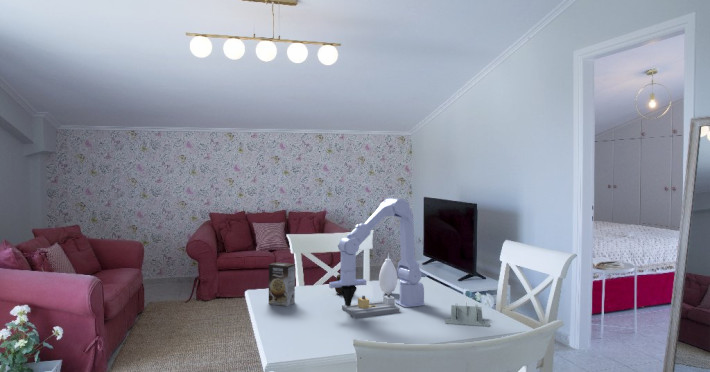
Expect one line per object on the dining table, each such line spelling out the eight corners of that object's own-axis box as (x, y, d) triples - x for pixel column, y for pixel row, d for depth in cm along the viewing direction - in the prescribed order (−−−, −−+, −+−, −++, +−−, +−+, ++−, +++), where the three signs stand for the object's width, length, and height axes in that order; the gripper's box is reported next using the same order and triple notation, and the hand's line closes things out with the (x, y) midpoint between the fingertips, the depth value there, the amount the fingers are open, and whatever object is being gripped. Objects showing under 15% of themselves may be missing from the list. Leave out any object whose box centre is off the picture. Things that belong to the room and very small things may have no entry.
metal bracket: (446, 299, 182) (487, 301, 179) (446, 312, 184) (486, 315, 181) (445, 321, 169) (489, 324, 166) (445, 335, 171) (488, 338, 168)
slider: (364, 304, 187) (364, 294, 187) (369, 307, 183) (369, 296, 183) (357, 305, 186) (357, 295, 186) (362, 308, 182) (362, 297, 182)
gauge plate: (385, 304, 195) (385, 290, 195) (399, 312, 184) (400, 297, 184) (341, 309, 188) (342, 294, 187) (354, 317, 177) (354, 302, 176)
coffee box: (267, 304, 194) (267, 264, 194) (276, 300, 200) (276, 261, 200) (287, 306, 191) (287, 266, 190) (295, 302, 197) (295, 263, 196)
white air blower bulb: (375, 294, 210) (376, 253, 210) (384, 290, 217) (385, 250, 216) (391, 297, 206) (391, 255, 205) (400, 293, 212) (400, 252, 212)
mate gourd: (343, 290, 217) (343, 268, 216) (354, 293, 211) (355, 271, 211) (331, 293, 212) (331, 270, 212) (342, 296, 206) (342, 273, 206)
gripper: (361, 266, 188) (360, 300, 189) (326, 269, 182) (326, 304, 183) (368, 269, 182) (368, 305, 182) (333, 272, 176) (332, 309, 176)
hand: (347, 305), depth 182 cm, fingers closed
